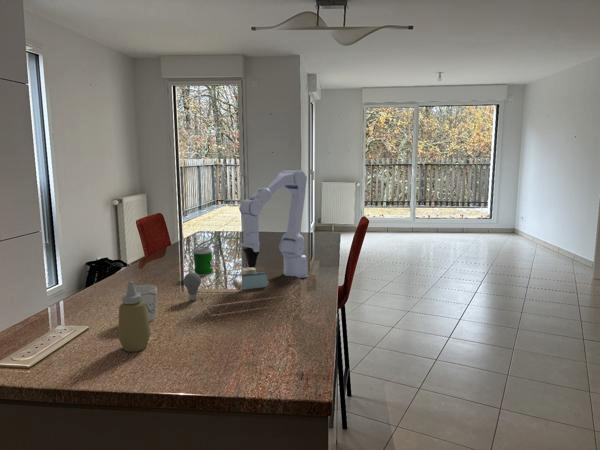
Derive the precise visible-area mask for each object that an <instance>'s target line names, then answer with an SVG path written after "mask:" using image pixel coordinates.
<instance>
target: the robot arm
mask: <svg viewBox="0 0 600 450" xmlns="http://www.w3.org/2000/svg"><path fill="white" fill-rule="evenodd" d="M307 179H308V177H307V175H306V173H305V172H304V171H303V170H301V169H299V170H286V169H283V170H281V172H279V173H277V177H276V178H275V179H274V180H273V181H272V182H271V183H269V184H268V186H267V187H259V188H258V189H257V191H256V192H255V193H254V194H252V195H250V196H249V198H248V199H247V198H246V199H243V200H242V201H241V202H240V205H239V207H238V209H239V212H240V214H241V218H242V227H243V231H242V232H243V243H240V247H245V248H243V249H242V251H243V252H244V255H245V257H246V261H247V266H248V267H250V268H253V267H254V268H256V264H257V259H258V258H259V257H258V256H259V255H260V253H261V249H260V245H261V244H260V235H259V234H260V231H259V230H260V229H259V225H260V224H259V215H261V212H262V210H263V208H264V207H265V206H266V205H267V204H268V203H269V202H270V201H271V200H272V199H273V195H274V194H276V193H277V192H278V191H280V190H281V189H282V188H283V187H285V188H286V189H287V190H288V191H289V192H290V193H291V200H290V206H289V207H290V208H289V213H288V222H287V228H286V232H285V233H283V234H282V236H281V240H280V243H279V245H278V247H279V248H278V249H279V251H280V252H281V255H282V256H283V274H284V276H287V277H296V278H298V279H301V278H308V277H309V275H308V260H307V255H305V254H304V253H305V249H306V245H305V237H304V236H303V235H302V234H301V229H302V221H303V213H304V206H305V198H306V189H307Z"/></svg>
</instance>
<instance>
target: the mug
mask: <svg viewBox="0 0 600 450" xmlns="http://www.w3.org/2000/svg"><path fill="white" fill-rule="evenodd" d="M134 286H135V289H136V292H137V293H140V294H141V299H142V300H141V301H143V302H144V303H146V309H147V315H148V320H149V323H150V322H153V321H154V320H155V319H156V313H157V303H158V287H157V286H156V285H153V284H140V285H139V284H138V285H134Z"/></svg>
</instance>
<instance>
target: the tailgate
mask: <svg viewBox="0 0 600 450" xmlns="http://www.w3.org/2000/svg"><path fill="white" fill-rule="evenodd" d="M241 281H242V289H241V290H244V291H245V290H249V289H250V290H251V289H259V288H268V286H267V281H268V272H267V271H261V272H256V273H250V274H242V273H241Z"/></svg>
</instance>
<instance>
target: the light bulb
mask: <svg viewBox="0 0 600 450" xmlns="http://www.w3.org/2000/svg"><path fill="white" fill-rule="evenodd" d="M182 282H183V285H184V286H185V289H186V290H187V294H188V296H189V300H190V301H192V302H194V301H197V299H198V297H197V296H198V290H199V288H200V286H201V283H202V278H201V276H199V275H198V274H197V273H195V271H194V272H188V273H186V275H184V278H183V281H182Z"/></svg>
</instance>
